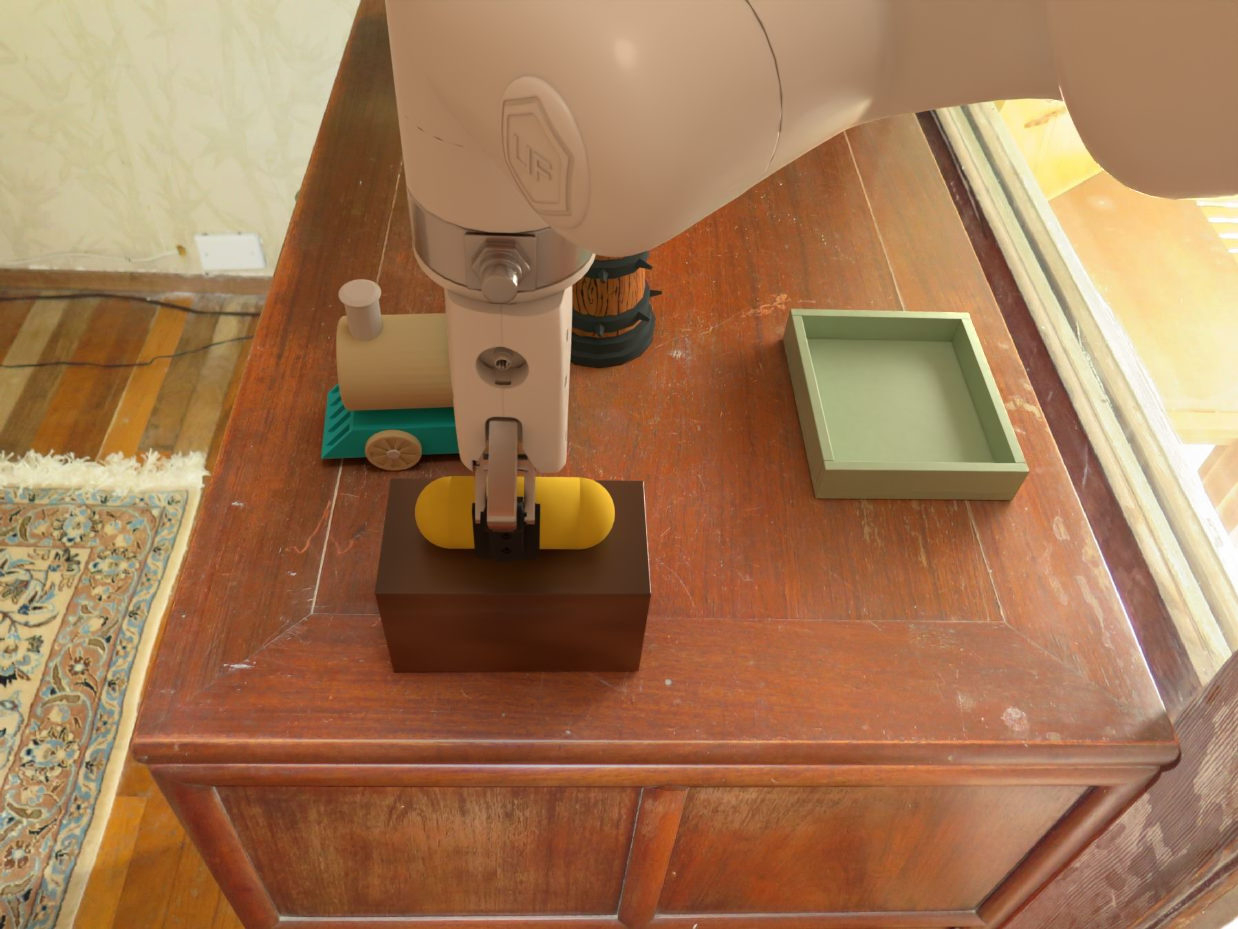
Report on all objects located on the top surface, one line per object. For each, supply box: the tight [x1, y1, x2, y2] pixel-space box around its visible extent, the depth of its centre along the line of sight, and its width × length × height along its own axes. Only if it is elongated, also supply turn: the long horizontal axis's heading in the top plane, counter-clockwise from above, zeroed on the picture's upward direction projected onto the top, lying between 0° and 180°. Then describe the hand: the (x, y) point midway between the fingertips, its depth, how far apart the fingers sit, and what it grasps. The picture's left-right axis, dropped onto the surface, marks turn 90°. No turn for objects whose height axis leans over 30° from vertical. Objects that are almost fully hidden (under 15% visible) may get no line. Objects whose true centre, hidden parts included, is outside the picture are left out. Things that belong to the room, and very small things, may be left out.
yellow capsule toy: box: [415, 475, 615, 549], centre depth 55 cm, size 11×4×4 cm, turn 92°
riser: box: [374, 477, 652, 673], centre depth 60 cm, size 15×8×9 cm, turn 92°
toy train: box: [320, 278, 525, 471], centre depth 67 cm, size 8×17×15 cm, turn 96°
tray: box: [782, 308, 1030, 501], centre depth 75 cm, size 17×15×3 cm
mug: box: [570, 243, 665, 369], centre depth 76 cm, size 13×10×12 cm
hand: (510, 478), depth 53 cm, fingers open, 9 cm apart
